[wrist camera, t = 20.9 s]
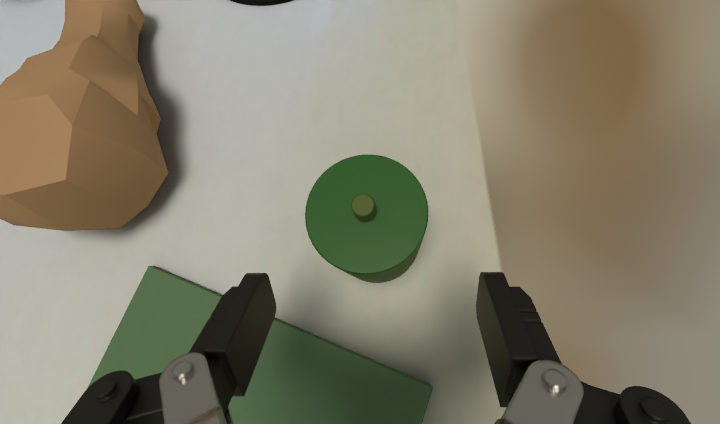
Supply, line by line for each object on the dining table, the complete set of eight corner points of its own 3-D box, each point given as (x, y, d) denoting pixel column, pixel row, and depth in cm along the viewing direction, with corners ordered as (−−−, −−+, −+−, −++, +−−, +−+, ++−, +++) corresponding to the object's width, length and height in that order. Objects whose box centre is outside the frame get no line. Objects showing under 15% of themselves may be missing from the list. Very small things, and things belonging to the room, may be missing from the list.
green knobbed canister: (430, 214, 23) (448, 165, 15) (402, 295, 22) (404, 293, 13) (352, 188, 24) (327, 128, 16) (321, 264, 23) (276, 243, 15)
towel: (431, 385, 20) (432, 388, 20) (359, 617, 18) (357, 630, 17) (154, 266, 24) (147, 265, 23) (65, 445, 22) (54, 450, 21)
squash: (62, 266, 25) (-132, 231, 17) (100, 62, 33) (-22, -28, 25) (186, 230, 23) (27, 170, 15) (195, 19, 31) (95, -96, 22)
